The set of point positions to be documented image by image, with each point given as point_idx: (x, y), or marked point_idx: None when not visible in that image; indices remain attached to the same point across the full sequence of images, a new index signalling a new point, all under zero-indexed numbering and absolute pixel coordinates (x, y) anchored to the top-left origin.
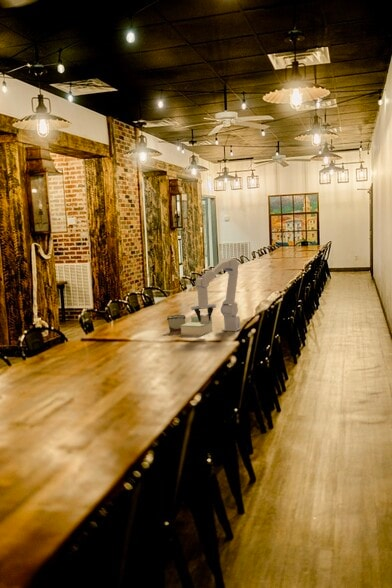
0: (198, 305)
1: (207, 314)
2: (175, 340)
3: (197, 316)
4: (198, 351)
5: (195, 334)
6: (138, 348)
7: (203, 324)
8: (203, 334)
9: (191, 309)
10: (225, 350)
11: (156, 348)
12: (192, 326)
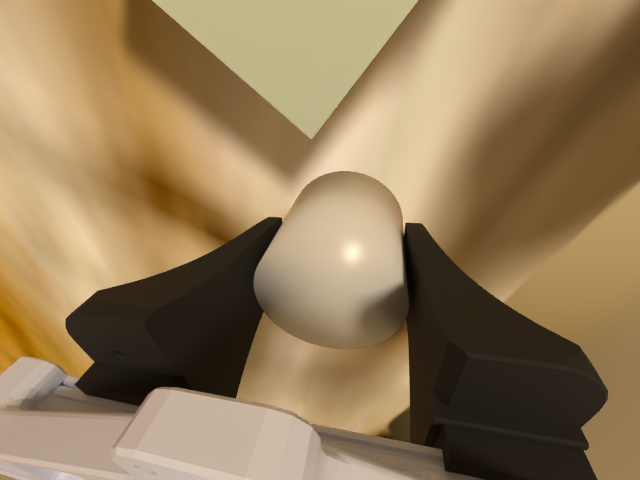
0: (73, 472)
1: (397, 292)
2: (145, 179)
3: (223, 246)
4: (275, 388)
5: None
6: (22, 250)
7: (371, 25)
8: (359, 77)
9: (25, 376)
10: (364, 419)
11: (106, 288)
12: (213, 49)
